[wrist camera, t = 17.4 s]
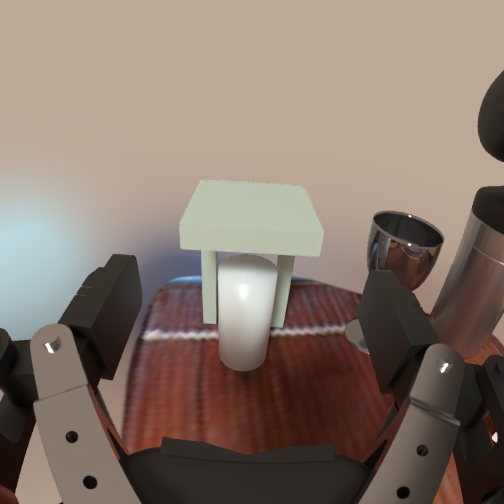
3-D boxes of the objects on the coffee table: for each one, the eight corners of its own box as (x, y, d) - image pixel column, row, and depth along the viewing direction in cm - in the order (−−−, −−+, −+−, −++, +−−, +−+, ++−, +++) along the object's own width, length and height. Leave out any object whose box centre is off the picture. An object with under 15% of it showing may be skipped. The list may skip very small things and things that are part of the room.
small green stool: (283, 317, 39) (303, 186, 30) (290, 381, 30) (324, 232, 22) (203, 313, 39) (201, 179, 30) (192, 377, 30) (179, 223, 21)
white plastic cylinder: (274, 348, 34) (287, 266, 29) (250, 378, 30) (259, 295, 25) (235, 330, 36) (239, 249, 31) (209, 357, 33) (206, 273, 27)
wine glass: (333, 344, 35) (367, 229, 27) (350, 307, 41) (378, 204, 34) (394, 366, 32) (446, 255, 24) (403, 325, 38) (442, 224, 30)
